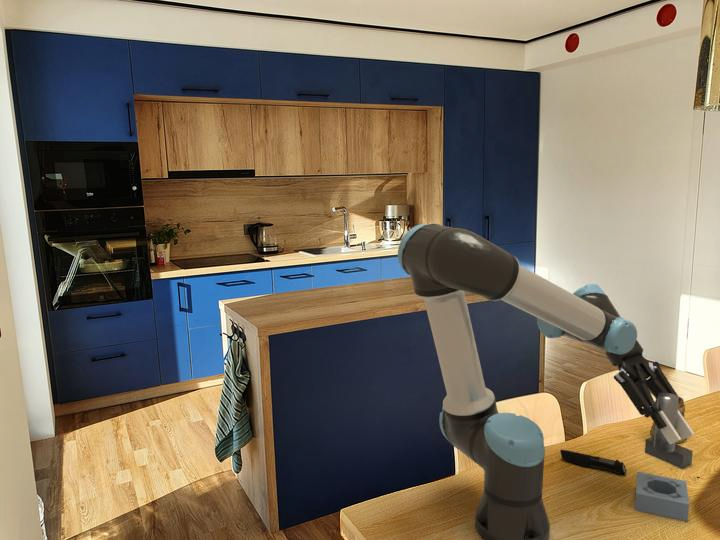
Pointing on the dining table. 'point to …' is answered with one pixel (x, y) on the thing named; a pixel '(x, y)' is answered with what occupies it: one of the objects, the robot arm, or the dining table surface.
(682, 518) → the bore block
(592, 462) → the electric trimmer
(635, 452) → the dining table surface
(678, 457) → the square bar
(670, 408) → the ball
